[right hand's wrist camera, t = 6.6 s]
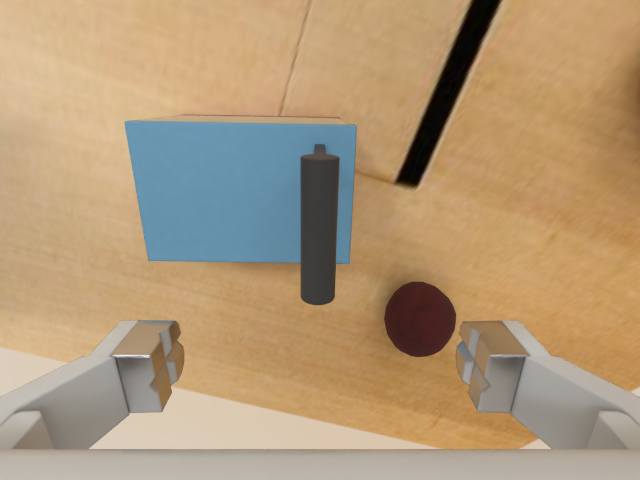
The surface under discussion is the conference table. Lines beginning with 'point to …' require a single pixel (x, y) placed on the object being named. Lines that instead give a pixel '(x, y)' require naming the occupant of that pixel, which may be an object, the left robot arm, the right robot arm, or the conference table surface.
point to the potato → (419, 319)
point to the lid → (247, 194)
